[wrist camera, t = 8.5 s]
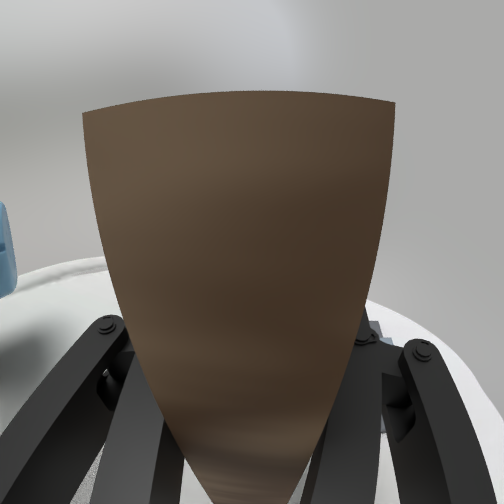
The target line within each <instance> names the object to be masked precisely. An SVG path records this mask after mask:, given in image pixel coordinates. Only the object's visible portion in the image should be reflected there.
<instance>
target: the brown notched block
mask: <svg viewBox="0 0 504 504" xmlns="http://www.w3.org/2000/svg"><path fill="white" fill-rule="evenodd" d="M82 115H83V129H84V140H85V149H86V158H87V166H88V173H89V179H90V186H91V192H92V198H93V203H94V208H95V214H96V219H97V224H98V228H99V233H100V238H101V242H102V246H103V250H104V254H105V258H106V262H107V266H108V270H109V273H110V277H111V281H112V284H113V288H114V291H115V294H116V298H117V301H118V304H119V307H120V310H121V313H122V316H123V319H124V322H125V325H126V328H127V331H128V334H129V337H130V339H131V342H132V345H133V347H134V350H135V353H136V355H137V358H138V360H139V363H140V365H141V368H142V370H143V373H144V375H145V377H146V380H147V382H148V384H149V387H150V389H151V391H152V394H153V396H154V398H155V400H156V402H157V404H158V407H159V409H160V411H161V413H162V415H163V417H164V419H165V421H166V423H167V425H168V427H169V429H170V431H171V433H172V435H173V437H174V439H175V441H176V442H177V444H178V446H179V448H180V450H181V452H182V453H183V455H184V457H185V459H186V460H187V462H188V464H189V466H190V467H191V469H192V471H193V472H194V474H195V476H196V477H197V479H198V481H199V482H200V484H201V485H202V487H203V489H204V490H205V492H206V493H207V495H208V496H209V498H210V499H211V501H212V502H213V504H287V503H288V501H289V499H290V498H291V496H292V494H293V492H294V490H295V488H296V486H297V484H298V482H299V480H300V478H301V476H302V474H303V472H304V470H305V468H306V466H307V464H308V462H309V460H310V458H311V456H312V453H313V451H314V449H315V447H316V445H317V442H318V440H319V438H320V435H321V433H322V431H323V428H324V426H325V424H326V421H327V419H328V416H329V414H330V411H331V409H332V406H333V403H334V401H335V398H336V396H337V393H338V390H339V387H340V385H341V382H342V379H343V376H344V373H345V370H346V367H347V364H348V361H349V358H350V355H351V352H352V349H353V346H354V342H355V339H356V336H357V332H358V329H359V325H360V322H361V318H362V315H363V311H364V307H365V303H366V299H367V295H368V291H369V287H370V283H371V279H372V275H373V270H374V266H375V261H376V256H377V251H378V246H379V241H380V236H381V230H382V225H383V219H384V212H385V206H386V200H387V192H388V185H389V177H390V167H391V158H392V147H393V135H394V120H395V102H389V101H383V100H377V99H370V98H364V97H356V96H347V95H339V94H328V93H315V92H297V91H229V92H211V93H199V94H189V95H178V96H171V97H162V98H156V99H149V100H142V101H136V102H131V103H125V104H120V105H115V106H110V107H106V108H101V109H97V110H93V111H89V112H85V113H82Z"/></svg>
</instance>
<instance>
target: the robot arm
mask: <svg viewBox="0 0 504 504" xmlns="http://www.w3.org/2000/svg"><path fill="white" fill-rule="evenodd" d="M16 285H17V269H16V262H15V255H14V249H13V243H12V237H11V231H10V226H9V221H8V216H7V212H6V208H5V205H4V204H3V203H2V202H0V299H1V298H3V297H5V296H7V295H9V294H11V293H12V292H13V291H14V290H15V288H16ZM106 369H107V370H106ZM105 370H106V372H105V373H104V371H105ZM381 415H382V417H383V421H384V425H385V429H386V434H387V438H388V442H389V447H390V452H391V456H392V461H393V466H394V471H395V476H396V482H397V487H398V493H399V499H400V504H497V501H496V497H495V493H494V489H493V485H492V482H491V478H490V475H489V471H488V468H487V465H486V462H485V459H484V456H483V453H482V450H481V447H480V444H479V441H478V438H477V436H476V433H475V430H474V428H473V425H472V423H471V420H470V418H469V415H468V413H467V410H466V408H465V405H464V403H463V401H462V398H461V396H460V394H459V392H458V389H457V387H456V385H455V383H454V381H453V379H452V376H451V374H450V372H449V370H448V368H447V366H446V364H445V362H444V360H443V358H442V356H441V354H440V352H439V350H438V349H437V348H436V346H435V345H433V344H432V343H431V342H429V341H426V340H424V339H413V340H409V341H408V342H407V343H406V344H405V346H404V348H403V347H398V346H394V345H390V344H387V343H385V342H383V341H381V340H380V338H379V335H378V334H377V333H376V331H375V330H373V329H372V328H370V324H369V320H368V316H367V312H366V308H365V307H364V311H363V315H362V318H361V322H360V325H359V329H358V332H357V336H356V339H355V342H354V346H353V349H352V352H351V355H350V358H349V361H348V364H347V367H346V370H345V373H344V376H343V379H342V382H341V385H340V387H339V390H338V393H337V396H336V398H335V401H334V403H333V406H332V409H331V411H330V414H329V416H328V419H327V421H326V424H325V426H324V428H323V431H322V433H321V435H320V438H319V440H318V442H317V445H316V447H315V449H314V451H313V454H312V458H311V462H310V466H309V470H308V475H307V479H306V482H305V486H304V490H303V494H302V497H301V501H300V504H374V500H375V493H376V485H377V476H378V466H379V454H380V439H381ZM105 441H106V442H105ZM104 443H105V446H104V449H103V453H102V456H101V460H100V463H99V467H98V471H97V475H96V479H95V483H94V487H93V491H92V495H91V499H90V504H179V502H180V493H181V484H182V475H183V467H184V459H185V457H184V455H183V453H182V452H181V450H180V448H179V446H178V444H177V442H176V441H175V439H174V437H173V435H172V433H171V431H170V429H169V427H168V425H167V423H166V421H165V419H164V417H163V415H162V413H161V411H160V409H159V407H158V404H157V402H156V400H155V398H154V396H153V394H152V391H151V389H150V387H149V384H148V382H147V380H146V377H145V375H144V373H143V370H142V368H141V365H140V363H139V360H138V358H137V355H136V353H135V350H134V347H133V345H132V342H131V339H130V337H129V334H128V331H127V328H126V325H125V322H124V320H123V319H122V318H121V317H119V316H117V315H106V316H103V317H100V318H98V319H97V320H96V321H94V322H93V323H92V324H91V325H90V326H89V328H88V329H87V330H86V331H85V332H84V333H83V334H82V335H81V337H80V338H79V339H78V340H77V341H76V342H75V343H74V344H73V346H72V347H71V348H70V349H69V350H68V351H67V353H66V354H65V355H64V356H63V357H62V358H61V360H60V361H59V362H58V363H57V364H56V365H55V367H54V368H53V369H52V370H51V371H50V373H49V374H48V375H47V376H46V377H45V379H44V380H43V381H42V382H41V384H40V385H39V386H38V387H37V389H36V390H35V391H34V392H33V394H32V395H31V396H30V397H29V399H28V400H27V401H26V403H25V404H24V405H23V406H22V408H21V409H20V410H19V412H18V413H17V414H16V416H15V417H14V418H13V420H12V421H11V422H10V424H9V425H8V426H7V428H6V429H5V431H4V432H3V433H2V435H1V436H0V504H70V502H71V500H72V498H73V497H74V495H75V493H76V491H77V489H78V488H79V486H80V484H81V482H82V481H83V479H84V477H85V476H86V474H87V472H88V470H89V469H90V467H91V465H92V464H93V462H94V460H95V458H96V457H97V455H98V453H99V452H100V450H101V448H102V447H103V445H104Z"/></svg>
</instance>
